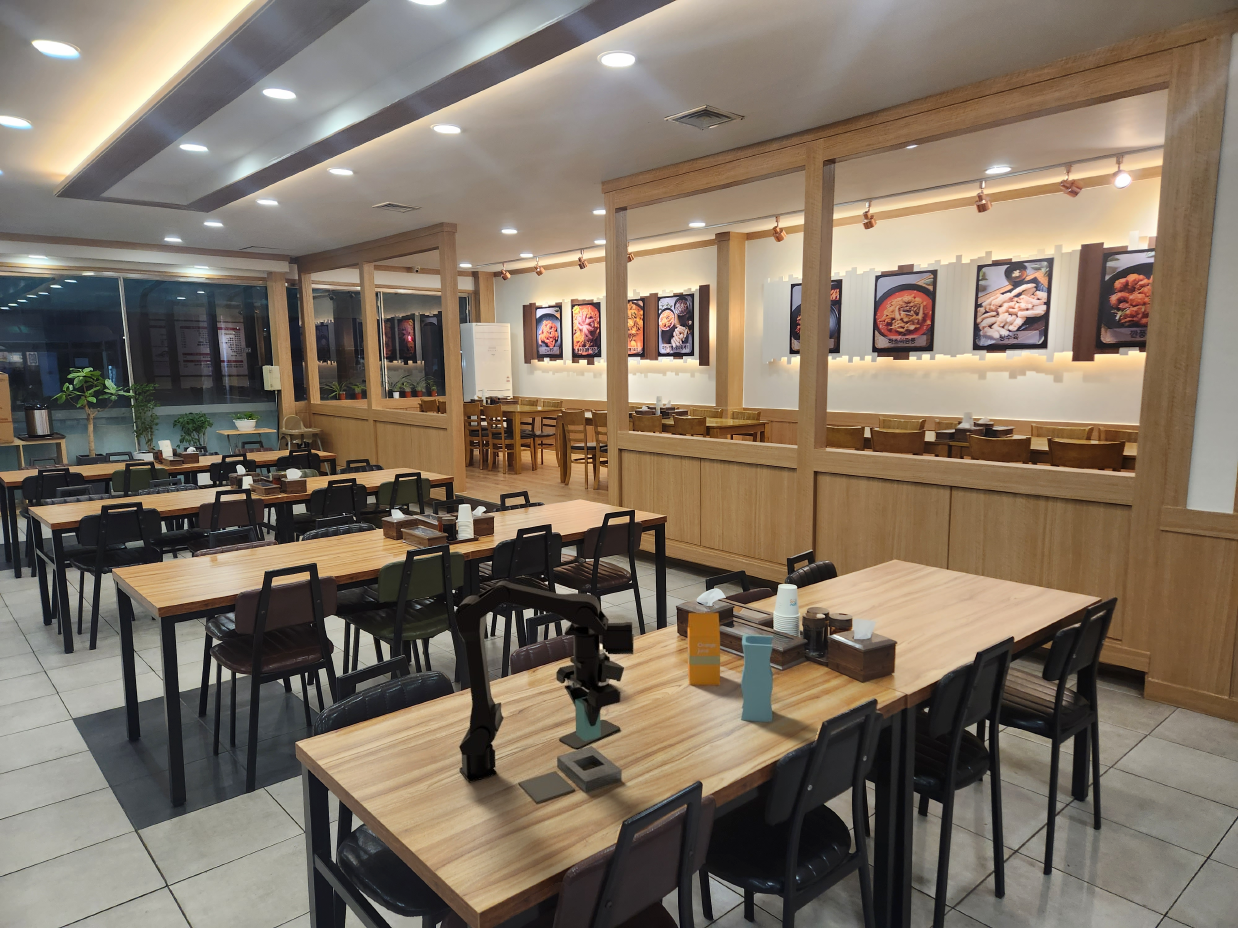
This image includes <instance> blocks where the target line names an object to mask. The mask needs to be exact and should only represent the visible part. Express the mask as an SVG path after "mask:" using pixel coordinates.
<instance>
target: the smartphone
mask: <svg viewBox="0 0 1238 928" xmlns="http://www.w3.org/2000/svg"><path fill="white" fill-rule="evenodd" d="M600 724H601V737H598V738H594V739H591V740H587V741H584V740H583V739H581V738H580V737H579V736H578V735H576V730H575V731H572V732H570V733H567V734H566V735H564V736H561V737H560V738H559V739H558V741H559V743H561V744H564V745H566V746H567V747H569V748H571V749H572V750H580V749H583V748H586V747H588V746H590V745H593V744H594V743H596V742H598V741H601V740H602V739H605V738H608V737H610V736H612V735H614V734H616V733H619V732H620V731H621V727H620V726H619V725H616V724H614V723H612V722H610V721H608V720H606V719H600Z"/></svg>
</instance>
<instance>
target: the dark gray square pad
mask: <svg viewBox="0 0 1238 928" xmlns="http://www.w3.org/2000/svg"><path fill="white" fill-rule="evenodd" d="M517 784H518V786H519V787H520V788H521V789H522V790H523V791H524V792H525V793H526V794H527V796H529V798H531V799H532V801H534V802H535V804H540V803H543V802H545V801H548V800H553V799H554V798H557V797H561V796H563V795H566V794H570V793H572V792H575V791H576V789H575V787H573V786H572V784H570V783H569V782H568V781H567V780H566V779H565V778H564V777H563V776H562V775H560V774H559V773H558V772H557V771H556V770H554V771H550V772H547V773H544V774H541V775H539V776H535V777H532V778H529V779H525V780H521V781H519V782H518V783H517Z"/></svg>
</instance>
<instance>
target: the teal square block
mask: <svg viewBox="0 0 1238 928" xmlns="http://www.w3.org/2000/svg"><path fill="white" fill-rule="evenodd" d="M584 698H588V697H583V698H579V699H575V706H574V708H575V709H574V710H575V731H576V735H578V736H579V737H580V738H581V739H583V740H584V741H587V740H591V739H594V738H598V737H601V724H600V720H601V712H600V713H599V716H598V719H597V722H596V725H595V726H590V723H589V721H588V718H587V715H586V712H585V708H584V705H583V702H582V699H584Z"/></svg>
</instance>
